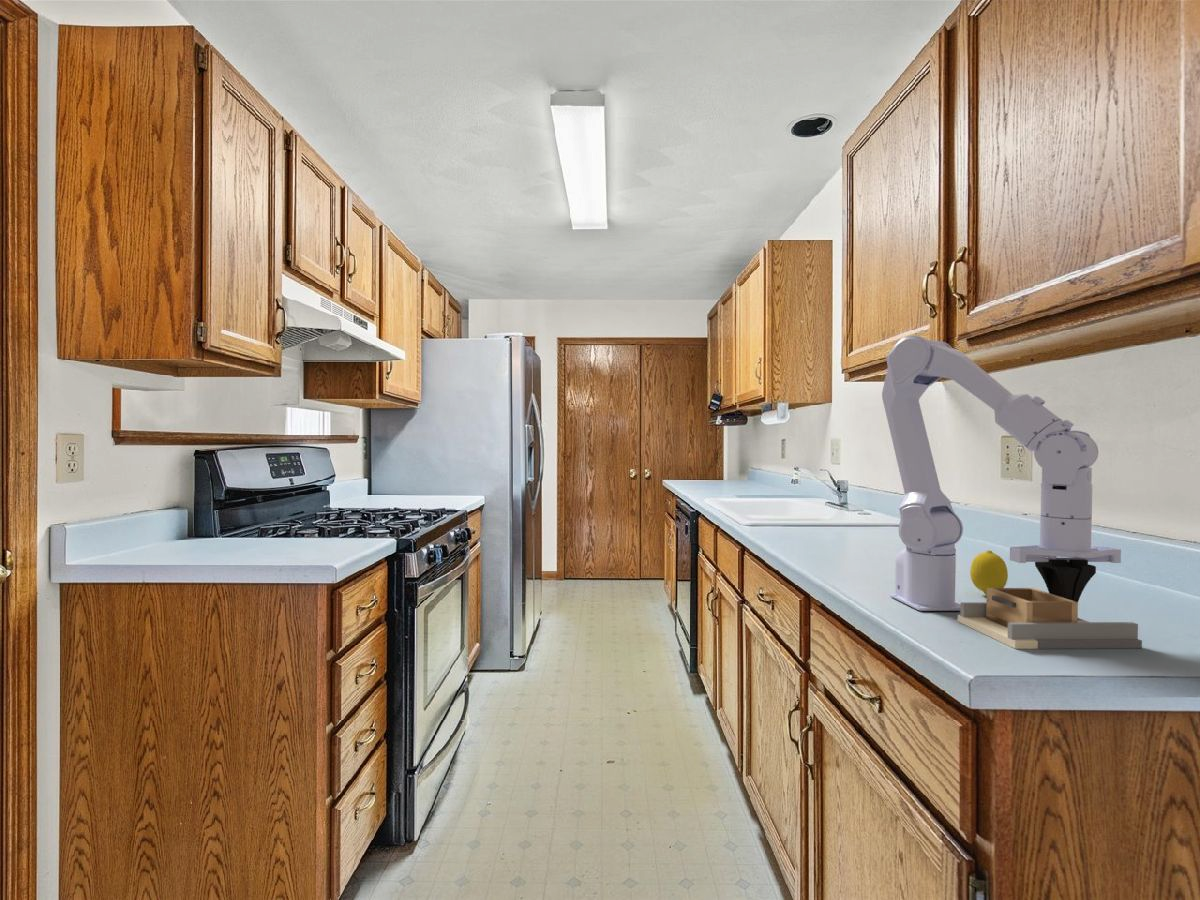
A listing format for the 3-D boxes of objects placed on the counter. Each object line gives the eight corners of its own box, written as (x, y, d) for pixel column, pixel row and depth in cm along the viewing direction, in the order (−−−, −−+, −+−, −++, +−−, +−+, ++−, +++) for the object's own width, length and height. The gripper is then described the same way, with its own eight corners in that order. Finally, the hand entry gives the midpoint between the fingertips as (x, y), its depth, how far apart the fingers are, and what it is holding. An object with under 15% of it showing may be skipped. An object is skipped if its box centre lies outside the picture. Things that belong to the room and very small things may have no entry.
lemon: (992, 591, 109) (993, 547, 109) (1015, 600, 104) (1015, 553, 104) (962, 592, 109) (963, 547, 109) (983, 600, 103) (984, 553, 103)
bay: (957, 621, 91) (958, 601, 91) (1068, 621, 91) (1068, 601, 91) (1015, 648, 79) (1015, 625, 79) (1141, 648, 79) (1142, 625, 79)
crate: (982, 617, 89) (982, 588, 89) (1032, 617, 89) (1033, 588, 89) (1021, 635, 81) (1022, 602, 81) (1077, 635, 81) (1077, 602, 81)
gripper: (1036, 520, 81) (1034, 621, 81) (1142, 520, 81) (1140, 621, 81) (999, 514, 88) (998, 607, 88) (1097, 514, 88) (1095, 607, 89)
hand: (1063, 613), depth 85 cm, fingers closed
